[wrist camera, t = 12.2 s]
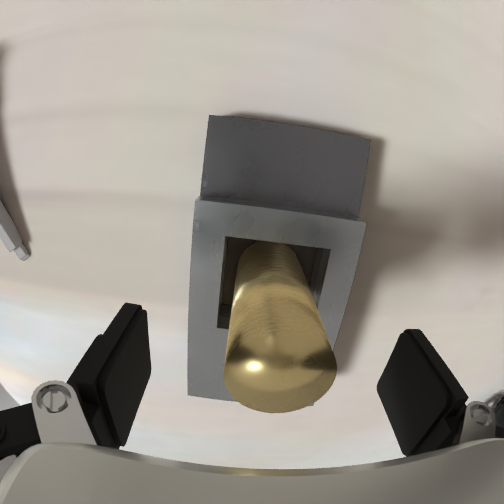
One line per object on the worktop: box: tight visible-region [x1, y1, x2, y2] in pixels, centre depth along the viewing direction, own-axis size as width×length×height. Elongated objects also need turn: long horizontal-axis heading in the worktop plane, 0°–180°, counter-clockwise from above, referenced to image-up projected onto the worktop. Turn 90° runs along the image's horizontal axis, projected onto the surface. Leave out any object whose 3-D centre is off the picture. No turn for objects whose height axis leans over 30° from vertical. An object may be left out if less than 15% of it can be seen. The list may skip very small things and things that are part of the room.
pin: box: [223, 241, 337, 413], centre depth 15 cm, size 4×4×10 cm
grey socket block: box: [188, 115, 370, 406], centre depth 18 cm, size 18×9×3 cm, turn 173°
